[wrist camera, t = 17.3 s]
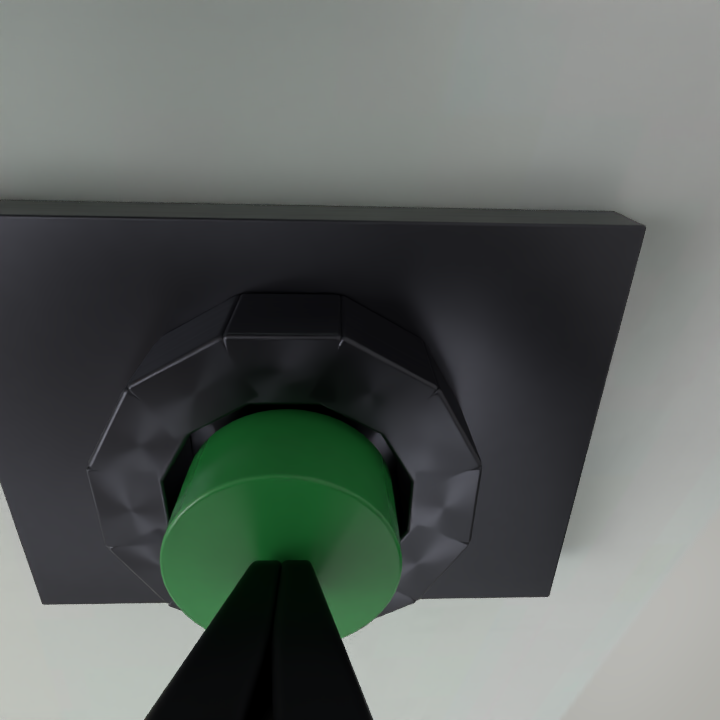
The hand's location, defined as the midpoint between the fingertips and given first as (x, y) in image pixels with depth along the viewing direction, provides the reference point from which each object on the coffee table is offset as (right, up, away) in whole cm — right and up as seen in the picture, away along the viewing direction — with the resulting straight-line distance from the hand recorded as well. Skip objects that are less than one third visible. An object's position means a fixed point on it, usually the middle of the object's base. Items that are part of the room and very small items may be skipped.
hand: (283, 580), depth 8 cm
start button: (0, +1, +2) cm, 2 cm away
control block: (0, +2, +4) cm, 4 cm away
